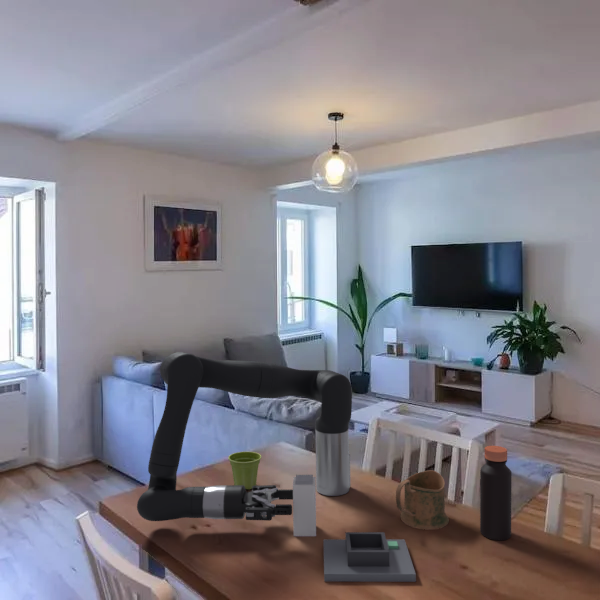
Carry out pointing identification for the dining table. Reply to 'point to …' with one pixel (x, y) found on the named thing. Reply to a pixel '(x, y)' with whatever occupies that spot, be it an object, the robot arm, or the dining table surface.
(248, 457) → the plant pot
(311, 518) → the grey tall block
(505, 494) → the bottle
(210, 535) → the dining table surface
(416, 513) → the mug
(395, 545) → the dock
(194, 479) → the dining table surface
